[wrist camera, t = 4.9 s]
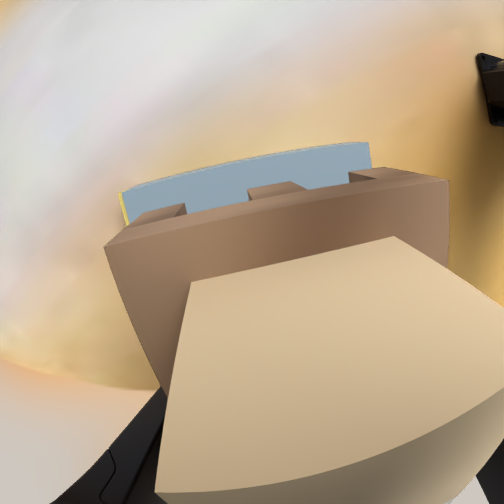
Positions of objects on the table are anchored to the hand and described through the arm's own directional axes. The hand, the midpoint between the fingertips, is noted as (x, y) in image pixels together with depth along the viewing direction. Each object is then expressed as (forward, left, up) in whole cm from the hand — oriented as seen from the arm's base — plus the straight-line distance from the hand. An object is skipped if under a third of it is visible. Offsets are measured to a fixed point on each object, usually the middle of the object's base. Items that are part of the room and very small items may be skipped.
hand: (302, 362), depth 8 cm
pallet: (0, 0, -1) cm, 1 cm away
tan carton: (0, -2, +2) cm, 3 cm away
